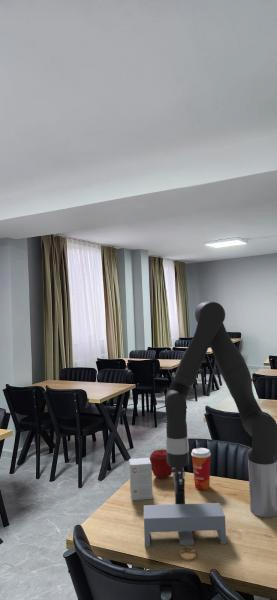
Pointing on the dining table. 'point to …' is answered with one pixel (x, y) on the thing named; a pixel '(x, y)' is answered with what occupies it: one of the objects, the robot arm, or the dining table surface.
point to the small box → (140, 479)
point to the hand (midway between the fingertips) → (179, 501)
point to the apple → (160, 464)
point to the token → (187, 553)
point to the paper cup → (201, 468)
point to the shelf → (184, 519)
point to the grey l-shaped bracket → (184, 536)
